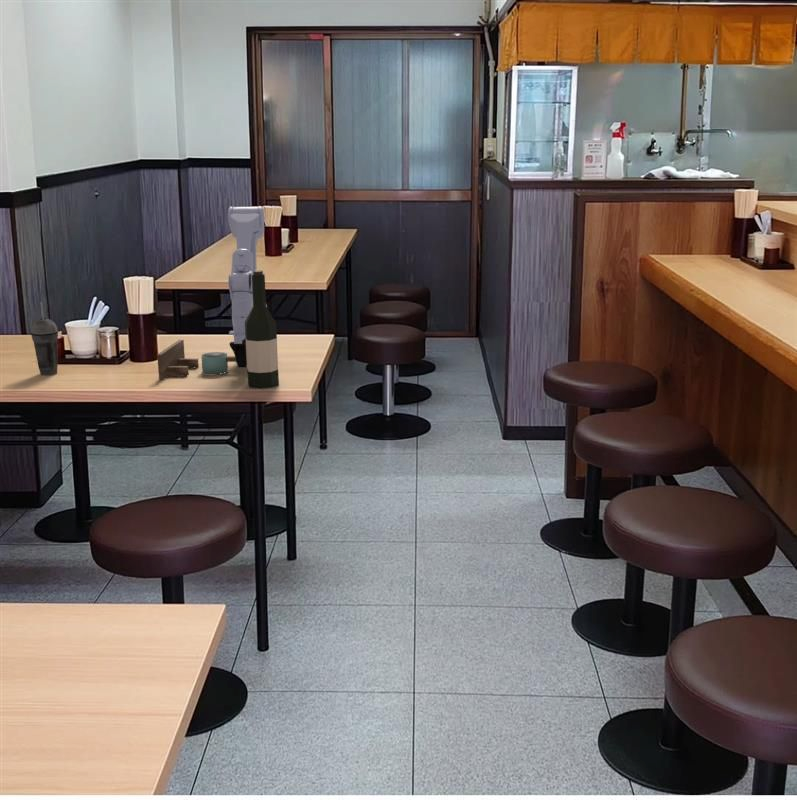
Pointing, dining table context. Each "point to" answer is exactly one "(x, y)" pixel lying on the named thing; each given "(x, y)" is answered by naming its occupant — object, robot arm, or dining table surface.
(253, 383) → the wine bottle
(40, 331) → the beverage cup
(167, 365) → the holder
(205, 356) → the pot
